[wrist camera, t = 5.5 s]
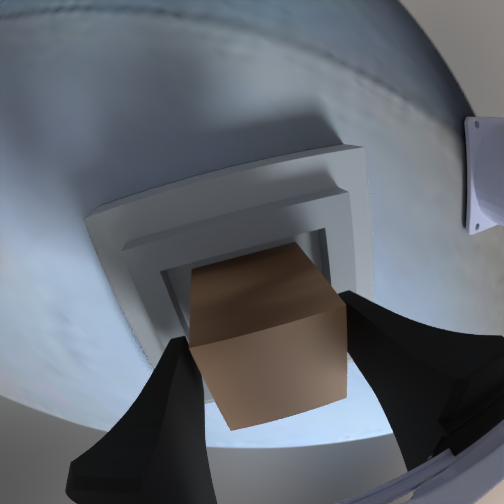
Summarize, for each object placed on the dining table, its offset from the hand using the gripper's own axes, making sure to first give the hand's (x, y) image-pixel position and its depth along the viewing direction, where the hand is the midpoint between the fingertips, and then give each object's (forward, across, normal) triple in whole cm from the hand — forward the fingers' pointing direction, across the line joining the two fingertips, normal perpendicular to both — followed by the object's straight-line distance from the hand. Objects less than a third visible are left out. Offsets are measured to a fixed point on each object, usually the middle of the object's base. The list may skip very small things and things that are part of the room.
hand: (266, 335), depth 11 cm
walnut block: (+2, 0, 0) cm, 2 cm away
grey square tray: (+4, 0, 0) cm, 4 cm away
